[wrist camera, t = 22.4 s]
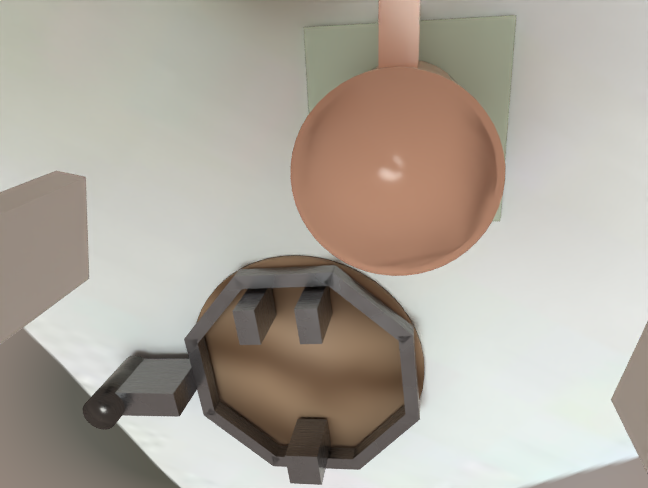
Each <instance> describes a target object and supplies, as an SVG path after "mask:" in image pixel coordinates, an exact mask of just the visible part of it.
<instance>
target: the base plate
mask: <svg viewBox="0 0 648 488" xmlns="http://www.w3.org/2000/svg"><path fill="white" fill-rule="evenodd" d="M323 265H336V266H337V267H339V268H340V269H341V270H342V271H344V272H345V273H346V274H348V275H349V276H350V277H351V278H353V279H354V280H355V281H356V282H358V283H359V284H360V285H362V286H363V287H364V288H365V289H367V290H368V291H369V292H370V293H372V294H373V295H374V296H375V297H377V298H378V299H379V300H381V301H382V302H383V303H384V304H386V305H387V306H388V307H389V308H391V309H392V310H393V311H394V312H396V313H397V314H398V315H400V316H401V317H402V318H403V319H405V320H406V321H407V322H408V323H410V324H411V325H412V326H413V324H412V322H411V320H410V318H409V316H408V315H407V314H406V312H405V311H404V310H403V308H402V307H401V305H400V304H399V303H398V302H397V301H396V300H395V299H394V298H393V297H392V296H391V295H390V294H389V292H387V291H386V290H385V289H384V288H383V287H381V286H380V285H379V284H378V283H376V282H375V281H373V280H372V279H370V278H369V277H367V276H366V275H364V274H362V273H361V272H358V271H356V270H354V269H352V268H350V267H348V266H346V265H343V264H340V263H337V262H334V261H331V260H326V259H322V258H317V257H309V256H280V257H274V258H268V259H264V260H261V261H258V262H255V263H252V264H250V265H248V266H245V267H243V268H241V269H258V268H280V267H301V266H323ZM239 270H240V269H239ZM237 272H238V271H236V272H235V273H233V274H232V275H230V276H229V277H228V278H226V279H225V280H224V281H223V282H222V283H221V284H220V285H219V286H218V287H217V288H216V289H215V291H214V292H213V293H212V294H211V296H210V297H209V298H208V299H207V301H206V303H205V304H204V306H203V308H202V310H201V312H200V315H199V317H198V320H197V322H198V321H199V320H200V318H201V317H202V316H203V315H204V313H205V312H206V311H207V310H208V308H209V307H210V306H211V305H212V303H213V302H214V301H215V299H216V298H217V297H218V296H219V294H220V293H221V292H222V291H223V289H224V288H225V287H226V286H227V284H228V283H229V282H230V280H231V279H232V278H233V277H234V275H235V274H236V273H237ZM304 288H305V287H286V288H272V292H273V297H274V303H275V308H276V314H277V316H276V317H275V319H274V321H273V323H272V325H271V327H270V329H269V331H268V332H267V334H266V336H265V338H264V340H263V342H262V344H261V345H240V344H239V340H238V335H237V330H236V326H235V321H234V316H233V312H232V311H233V309H234V308H235V306H236V305H237V304H238V302H239V301H240V299H241V298H242V296H243V295H244V294H245V292H246V291H247V289H242V290H241V291H240V292H239V293H238V295H237V296H236V297H235V298H234V299H233V301H232V302H231V303H230V304H229V306H228V307H227V308H226V309H225V311H224V312H223V313H222V314H221V315H220V317H219V318H218V319H217V320H216V322H215V323H214V324H213V325H212V327H211V328H210V329H209V330H208V331H207V333H206V334H205V335H204V338H205V342H206V346H207V350H208V354H209V358H210V362H211V366H212V371H213V375H214V379H215V383H216V387H217V391H218V395H219V399H220V402H221V403H223V404H224V405H225V406H227V407H228V408H230V409H231V410H232V411H234V412H235V413H236V414H238V415H239V416H240V417H242V418H243V419H244V420H246V421H247V422H248V423H250V424H251V425H253V426H254V427H255V428H257V429H258V430H259V431H261V432H262V433H263V434H265V435H266V436H267V437H269V438H270V439H272V440H273V441H274V442H276V443H277V444H278V445H280V446H288V445H289V442H290V440H291V437H292V434H293V431H294V428H295V425H296V422H297V419H327V423H328V429H329V436H330V442H331V447H332V448H356V447H357V446H358V445H359V444H360V443H361V442H363V441H364V440H365V439H366V438H367V437H368V436H369V435H371V434H372V433H373V432H374V431H375V430H376V429H378V428H379V427H380V426H381V425H382V424H383V423H385V422H386V421H387V420H388V419H389V418H390V417H391V416H393V415H394V414H395V413H396V412H397V411H398V410H400V409H401V408H402V407H403V406H404V405H405V404H404V393H403V383H402V372H401V361H400V350H399V341H398V340H397V339H396V338H394V337H393V336H392V335H390V334H389V333H388V332H387V331H385V330H384V329H383V328H382V327H380V326H379V325H378V324H376V323H375V322H374V321H373V320H371V319H370V318H369V317H367V316H366V315H365V314H364V313H362V312H361V311H360V310H358V309H357V308H356V307H355V306H353V305H352V304H351V303H350V302H348V301H347V300H346V299H344V298H343V297H342V296H341V295H339V294H338V293H337V292H335V291H334V290H333V289H332V288H330V287H329V291H330V298H331V306H332V313H333V314H332V317H331V320H330V323H329V326H328V329H327V332H326V335H325V338H324V340H323V343H322V344H300V342H299V336H298V330H297V324H296V318H295V312H294V308H295V306H296V304H297V302H298V300H299V298H300V296H301V294H302V292H303V290H304ZM413 327H414V326H413ZM414 340H415V352H416V365H417V377H418V390H419V400H420V396H421V392H422V389H423V380H424V358H423V352H422V348H421V343H420V340H419V337H418V335H417V332H416V329H415V328H414Z"/></svg>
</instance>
